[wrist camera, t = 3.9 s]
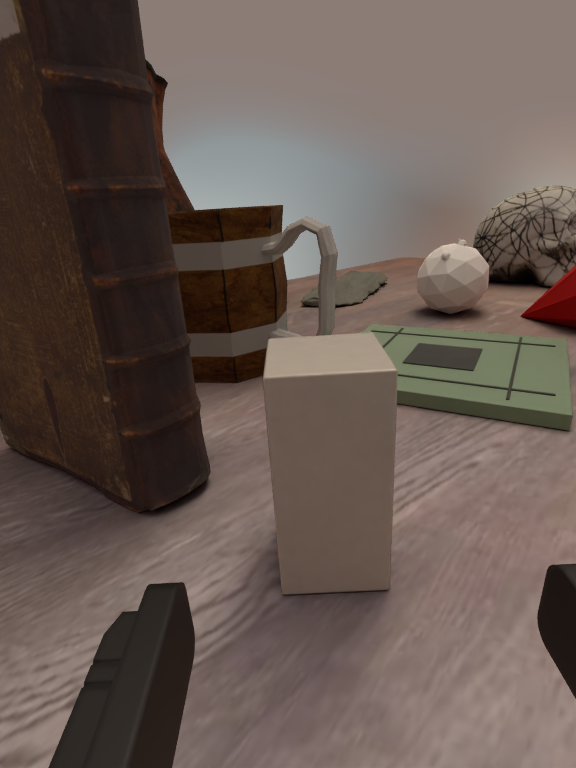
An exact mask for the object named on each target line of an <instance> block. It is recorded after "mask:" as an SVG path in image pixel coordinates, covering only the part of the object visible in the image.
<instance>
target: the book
mask: <svg viewBox="0 0 576 768" xmlns="http://www.w3.org/2000/svg"><path fill="white" fill-rule="evenodd" d="M152 101H153V92H152V90H151V87H150V85H149V83H148V78H147V70H146V62H145V54H144V47H143V39H142V31H141V24H140V17H139V8H138V1H137V0H0V428H1V431H2V434H3V437H4V439H5V442H6V444H8V445H9V446H11V447H12V448H14V449H15V450H17V451H19V452H20V453H22V454H24V455H27V456H29V457H31V458H33V459H35V460H39V461H42V462H44V463H47V464H49V465H52V466H54V467H56V468H59V469H61V470H63V471H65V472H68V473H70V474H72V475H74V476H76V477H78V478H80V479H82V480H84V481H85V482H87V483H89V484H91V485H93V486H94V487H96V488H98V489H99V490H101V491H102V492H103V493H104V494H105V496H107V497H108V498H110V499H112V500H114V501H115V502H117V503H119V504H121V505H123V506H125V507H127V508H129V509H132V510H134V511H137V512H142V511H145V510H150V511H153V510H154V509H156V508H158V507H161V506H164V505H166V504H168V503H170V502H173V501H175V500H177V499H178V498H180V497H182V496H184V495H186V494H188V493H189V492H191V491H192V490H194V489H195V488H196V487H198V486H199V485H200V484H202V483H203V482H205V481H206V479H207V478H208V476H209V474H210V464H209V460H208V456H207V452H206V447H205V442H204V437H203V433H202V426H201V418H200V406H201V404H200V401H199V399H198V396H197V394H196V387H195V381H194V374H193V368H192V361H191V354H190V348H189V347H190V342H191V339H190V337H189V335H188V334H187V331H186V325H185V318H184V312H183V305H182V299H181V292H180V286H179V279H178V267H177V264H176V261H175V257H174V251H173V245H172V238H171V231H170V224H169V218H168V211H167V204H166V190H167V188H166V185H165V182H164V179H163V177H162V174H161V167H160V161H159V154H158V147H157V141H156V134H155V128H154V121H153V115H152Z"/></svg>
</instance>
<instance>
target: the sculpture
mask: <svg viewBox="0 0 576 768" xmlns="http://www.w3.org/2000/svg"><path fill="white" fill-rule="evenodd" d="M473 248H476V249H477V250H478V252H479V253H480V254H481V256H482V257H483V258H484V260H485V261H486V262H487V263H488V265H489V280H494V281H506V282H536V283H538V284H539V285H542V286H553V285H555V284H556V283H557V282H558V281H559V280H560V279H561V278H562V277H563V276H564V275H565V274H566V273H567V272H569V271H570V270H571V269H572V268H573V267H574V266H575V265H576V189H574V188H570V187H565V186H547V187H541V188H534V189H532V190H529V191H526V192H523V193H519V194H516V195H514V196H512V197H510V198H508V199H506V200H504V201H502V202H501V203H499V204H498V205H496V206H495V207H494V208H492V210H491V211H490V212H489V213H488V214H487V215H486V216H485V218H484V219H483V220H482V221H481V223H480V225H479V227H478V229H477V232H476V235H475V239H474V244H473Z"/></svg>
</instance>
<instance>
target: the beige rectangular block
mask: <svg viewBox="0 0 576 768" xmlns="http://www.w3.org/2000/svg"><path fill="white" fill-rule="evenodd" d="M397 384H398V370H397V368H396V367H395V365H394V364H393V362H392V361H391V359H390V358H389V356H388V354H387V353H386V351H385V350H384V348H383V347H382V345H381V344H380V342H379V341H378V339H377V338H376V336H375V335H374V333H357V334H340V335H323V336H306V337H289V338H272V339H268V342H267V350H266V358H265V365H264V373H263V388H264V399H265V410H266V422H267V433H268V445H269V456H270V467H271V479H272V490H273V501H274V513H275V524H276V535H277V547H278V558H279V569H280V581H281V592H282V594H283V595H288V594H309V593H330V592H351V591H372V590H388V589H390V571H391V544H392V517H393V491H394V464H395V437H396V411H397Z"/></svg>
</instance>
